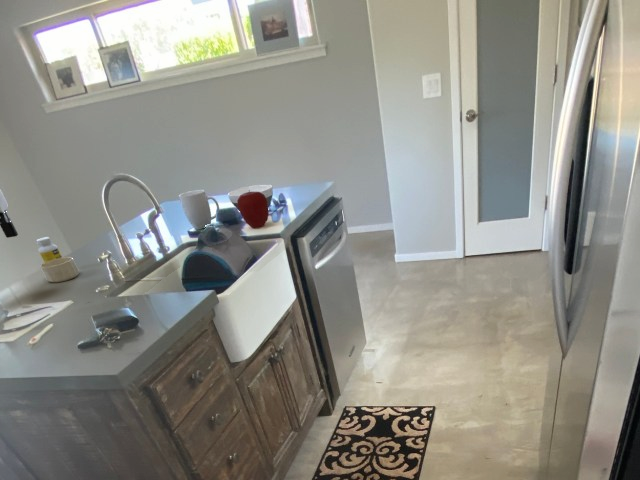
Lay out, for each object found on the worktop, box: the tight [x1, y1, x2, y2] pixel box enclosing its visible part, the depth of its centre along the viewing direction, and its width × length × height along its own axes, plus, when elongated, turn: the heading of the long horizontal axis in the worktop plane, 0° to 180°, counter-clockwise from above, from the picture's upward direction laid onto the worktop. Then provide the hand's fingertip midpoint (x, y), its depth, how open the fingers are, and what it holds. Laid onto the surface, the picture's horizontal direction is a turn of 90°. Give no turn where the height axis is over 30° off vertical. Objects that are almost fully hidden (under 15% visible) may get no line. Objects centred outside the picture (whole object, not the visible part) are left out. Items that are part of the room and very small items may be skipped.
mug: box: [178, 189, 220, 230], centre depth 220 cm, size 15×11×13 cm
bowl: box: [227, 184, 274, 212], centre depth 226 cm, size 20×20×10 cm
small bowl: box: [39, 256, 80, 284], centre depth 188 cm, size 11×11×6 cm
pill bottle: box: [35, 236, 63, 263], centre depth 193 cm, size 6×6×12 cm
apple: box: [237, 191, 269, 229], centre depth 207 cm, size 12×12×13 cm
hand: (12, 236), depth 164 cm, fingers closed
